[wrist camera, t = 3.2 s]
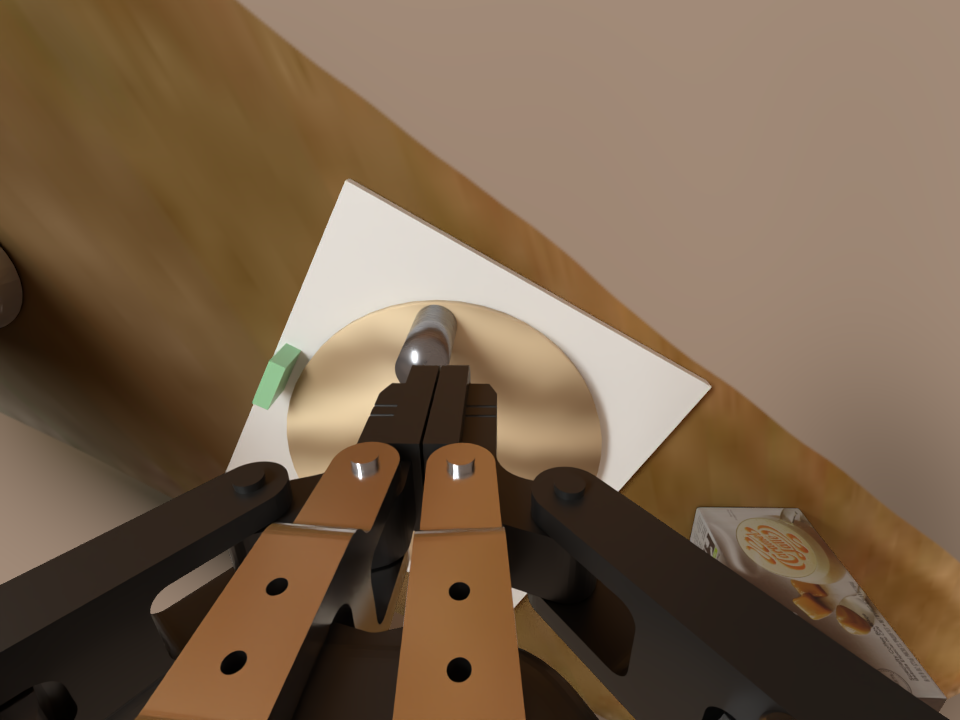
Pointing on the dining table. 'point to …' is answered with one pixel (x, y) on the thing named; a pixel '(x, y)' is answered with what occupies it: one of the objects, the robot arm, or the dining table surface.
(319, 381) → the tan round piece
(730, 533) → the coffee box
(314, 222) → the dining table surface
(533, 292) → the gauge plate
